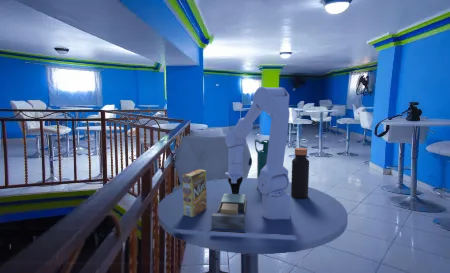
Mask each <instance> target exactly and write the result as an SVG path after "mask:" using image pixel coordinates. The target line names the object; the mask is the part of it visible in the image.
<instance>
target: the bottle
mask: <svg viewBox="0 0 450 273" xmlns="http://www.w3.org/2000/svg"><path fill="white" fill-rule="evenodd" d="M307 156H308V148H305V147H295V148H294V157H293V159H292V160H291V185H290V188H291V189H290V194H291V195H290V197H292V198H294V199H297V200H298V199H299V200H300V199H301V200H303V199H307V198H308V197H309V183H310V182H309V181H310V180H309V176H310V161H309V159H308V158H307Z"/></svg>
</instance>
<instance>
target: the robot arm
mask: <svg viewBox="0 0 450 273" xmlns="http://www.w3.org/2000/svg"><path fill="white" fill-rule="evenodd" d="M252 99H253V101H252V103H251V105H250V107H249V109H248V111H247V113H246V114H245V116H244V117H241V118H239V119H238V122H237V123H236V125H235V126H234V128H233V130H231V131H229V132H227V133H226V134H225V136H224V137H225V138H224V142H225V145H226V146H227V147H228V151H227V153H228V154H227V159H228V160H227V161H228V165H227V166H228V169H227V170H228V172H227V171H226V172H225V176H228V179H227V183H228V184H229V186H230V189H231V194H240V188H241V186H242V183H243V179H244V166H243V165H244V150H245V145H246V144H247V136H248V135H249V134H250V133H251V131H252V130H253V129H254V122H255V120H257V118H258V117H259V116H260V115H261V113H263V111H264V113H265V114H267V115H269V116H270V118H271V120H270V129H269V137H268V140H269V145H268V154H267V163H266V165H265V166H264V167H263V168H262V170H261V171H260V176H259V178H258V180H257V179H256V187H257V186H258V189H259V192H260V194H261V197H262V198H261V200H262V201H261V216H262V217H263V218H265V219H268V220H290V219H291V195H290V194H291V193H289V192H288V193H287V192H286V189H288V188H289V186H290V180H289V170H288V169H287V168H286V167H285V166H284V161H285V154H286V147H287V145H286V144H287V139H288V130H289V122H290V116H291V115H290V106H289V104H290V94H289V93H288V91H287V90H286V89H285V87H281V86H279V87H265V86H260V87H258V88H257V89H256V91H255V92H254V94H253V96H252ZM258 189H257V190H258Z"/></svg>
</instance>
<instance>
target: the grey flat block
mask: <svg viewBox="0 0 450 273" xmlns="http://www.w3.org/2000/svg"><path fill="white" fill-rule="evenodd" d="M222 197H223V198H222ZM222 197H221V200H222V201H221V200H220V202H221V208H222V205H223V203H226V204H238V212H244V207H245V200H246V194H243V193H242V194H241V193H239V194H232V193H224V194H223V196H222Z"/></svg>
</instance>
